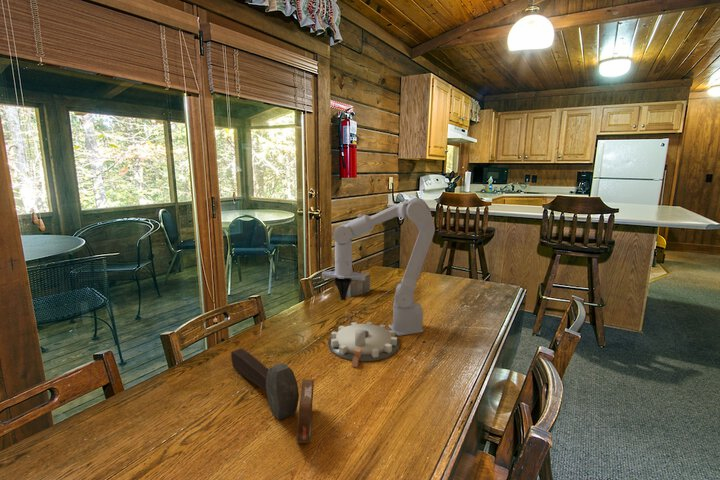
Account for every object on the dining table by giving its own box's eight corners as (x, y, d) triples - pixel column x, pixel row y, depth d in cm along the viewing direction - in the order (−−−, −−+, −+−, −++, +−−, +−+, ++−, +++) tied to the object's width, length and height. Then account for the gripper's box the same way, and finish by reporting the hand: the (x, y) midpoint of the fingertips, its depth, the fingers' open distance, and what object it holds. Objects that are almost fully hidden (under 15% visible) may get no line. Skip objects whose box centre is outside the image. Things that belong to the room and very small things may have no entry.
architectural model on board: (365, 290, 165) (365, 269, 163) (369, 292, 163) (370, 270, 161) (345, 296, 158) (345, 274, 156) (350, 298, 156) (350, 275, 154)
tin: (301, 404, 86) (300, 371, 84) (315, 403, 86) (314, 370, 84) (295, 453, 71) (294, 414, 69) (312, 452, 71) (311, 414, 70)
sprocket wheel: (339, 325, 127) (339, 308, 125) (399, 330, 123) (400, 313, 122) (322, 354, 107) (322, 335, 106) (393, 361, 103) (393, 341, 102)
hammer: (230, 380, 102) (280, 425, 78) (225, 340, 101) (275, 374, 77) (247, 374, 105) (300, 416, 81) (242, 335, 104) (296, 366, 80)
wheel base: (382, 324, 129) (383, 320, 128) (414, 357, 107) (414, 352, 107) (320, 333, 122) (320, 329, 121) (340, 370, 100) (340, 365, 100)
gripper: (319, 262, 121) (319, 302, 124) (363, 264, 119) (362, 304, 121) (324, 257, 128) (325, 294, 130) (366, 259, 126) (365, 297, 128)
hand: (343, 299), depth 126 cm, fingers closed
